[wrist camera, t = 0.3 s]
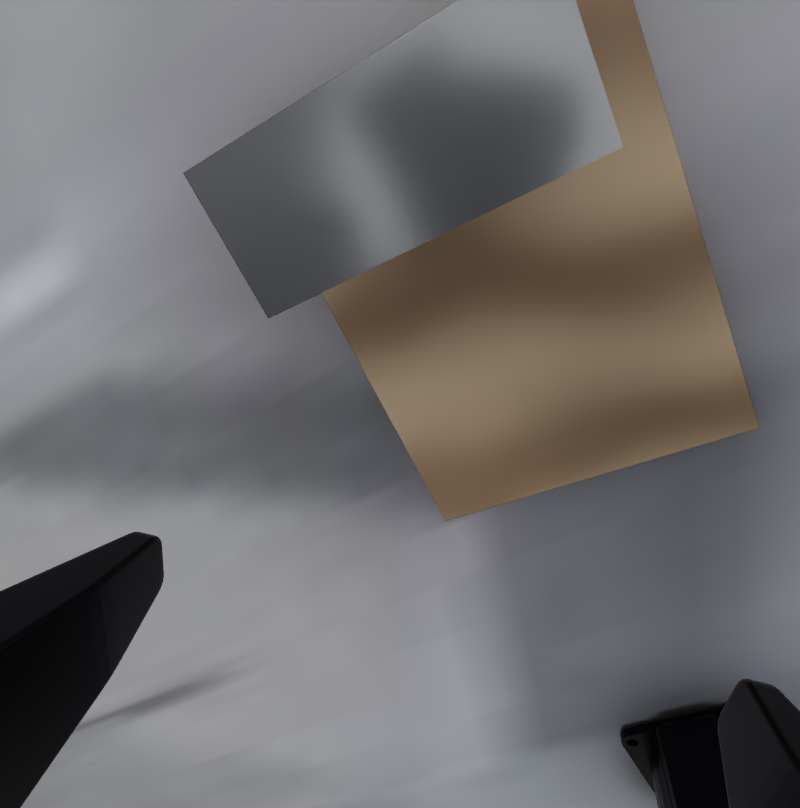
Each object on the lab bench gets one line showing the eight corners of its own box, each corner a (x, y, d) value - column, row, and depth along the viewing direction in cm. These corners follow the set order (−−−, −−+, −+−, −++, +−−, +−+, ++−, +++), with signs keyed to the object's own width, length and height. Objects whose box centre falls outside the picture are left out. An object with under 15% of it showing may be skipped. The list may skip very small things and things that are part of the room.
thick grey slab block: (571, 135, 17) (623, 146, 9) (368, 238, 19) (268, 318, 11) (532, 24, 16) (551, -72, 8) (323, 147, 18) (178, 166, 10)
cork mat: (754, 422, 20) (759, 427, 20) (446, 515, 24) (445, 520, 24) (604, -81, 15) (607, -85, 15) (245, 143, 19) (240, 143, 19)
